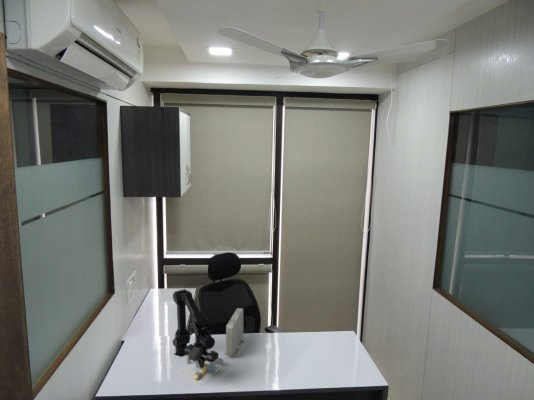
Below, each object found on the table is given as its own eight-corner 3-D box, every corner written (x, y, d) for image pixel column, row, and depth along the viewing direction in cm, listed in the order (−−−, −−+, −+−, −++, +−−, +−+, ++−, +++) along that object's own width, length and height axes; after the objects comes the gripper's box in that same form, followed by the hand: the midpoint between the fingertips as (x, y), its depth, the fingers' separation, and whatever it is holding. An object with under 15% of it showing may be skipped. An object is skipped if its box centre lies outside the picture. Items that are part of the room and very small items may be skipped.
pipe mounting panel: (174, 375, 185) (173, 366, 184) (195, 357, 201) (195, 348, 200) (202, 385, 176) (202, 376, 175) (223, 366, 192) (222, 357, 192)
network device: (236, 360, 198) (236, 327, 196) (221, 358, 200) (221, 326, 197) (246, 337, 223) (246, 308, 221) (233, 336, 225) (233, 306, 222)
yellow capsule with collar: (197, 381, 179) (197, 377, 178) (193, 379, 180) (192, 375, 180) (209, 369, 188) (209, 365, 188) (205, 368, 190) (205, 364, 189)
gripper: (176, 343, 179) (177, 371, 181) (205, 352, 170) (206, 381, 172) (190, 333, 189) (191, 360, 191) (218, 341, 180) (219, 369, 182)
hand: (201, 367), depth 184 cm, fingers closed
